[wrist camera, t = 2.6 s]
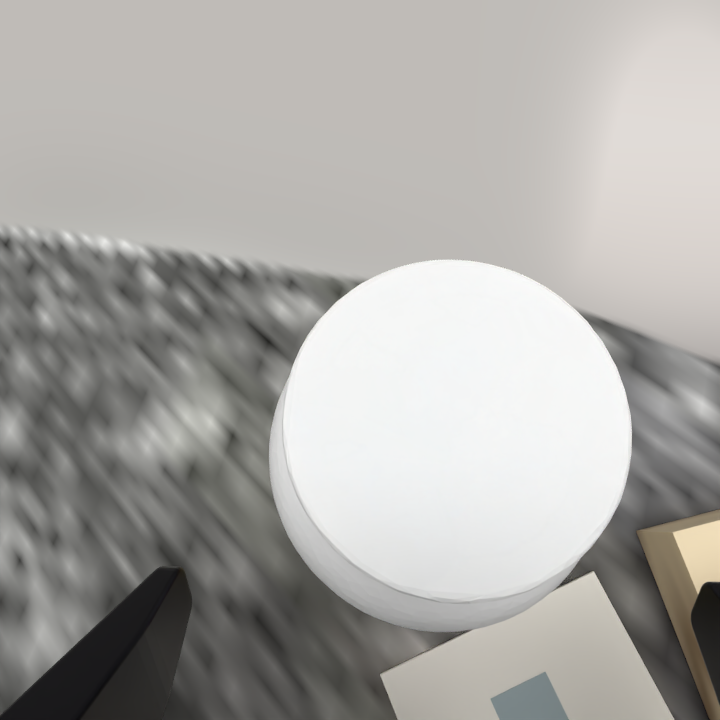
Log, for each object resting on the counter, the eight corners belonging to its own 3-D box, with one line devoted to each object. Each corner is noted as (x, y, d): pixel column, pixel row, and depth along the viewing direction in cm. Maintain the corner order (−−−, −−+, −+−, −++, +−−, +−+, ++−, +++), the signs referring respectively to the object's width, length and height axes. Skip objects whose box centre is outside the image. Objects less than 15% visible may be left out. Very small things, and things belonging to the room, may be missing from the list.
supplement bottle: (293, 523, 19) (107, 528, 7) (372, 366, 21) (338, 138, 8) (464, 614, 18) (618, 823, 5) (534, 439, 19) (774, 298, 7)
